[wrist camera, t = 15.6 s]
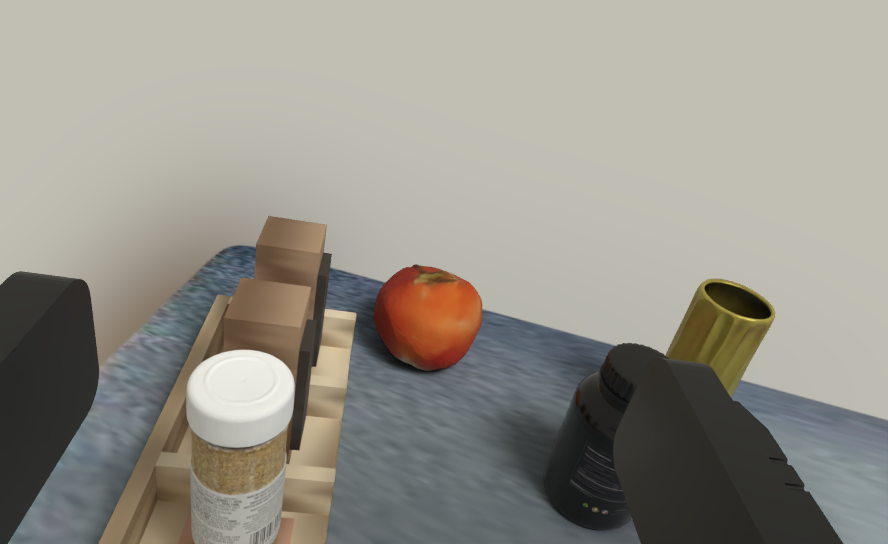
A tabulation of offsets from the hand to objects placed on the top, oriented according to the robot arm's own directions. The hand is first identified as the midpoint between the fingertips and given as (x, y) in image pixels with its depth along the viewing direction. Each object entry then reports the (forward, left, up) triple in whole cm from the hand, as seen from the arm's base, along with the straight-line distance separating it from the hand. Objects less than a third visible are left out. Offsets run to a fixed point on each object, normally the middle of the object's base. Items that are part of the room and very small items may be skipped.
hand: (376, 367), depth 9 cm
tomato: (-6, -36, -28) cm, 46 cm away
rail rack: (+5, -22, -28) cm, 36 cm away
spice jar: (+5, -14, -27) cm, 31 cm away
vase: (-26, -28, -28) cm, 48 cm away
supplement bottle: (-18, -22, -28) cm, 40 cm away
